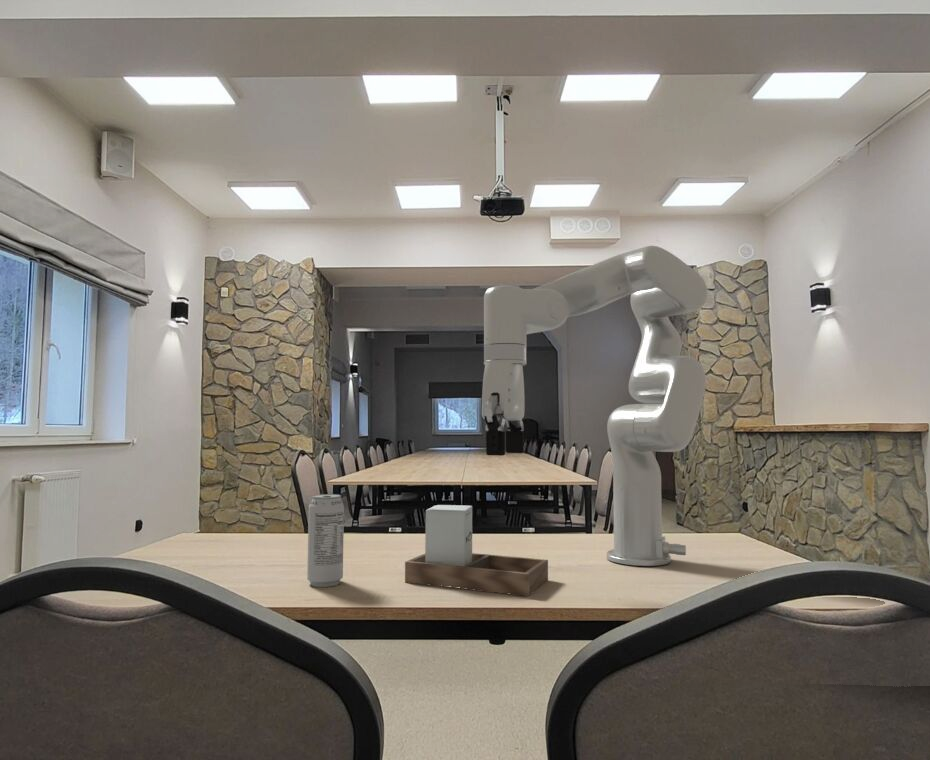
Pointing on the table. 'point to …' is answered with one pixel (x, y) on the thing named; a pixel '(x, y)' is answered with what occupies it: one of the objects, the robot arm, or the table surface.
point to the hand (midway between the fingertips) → (505, 454)
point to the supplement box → (449, 535)
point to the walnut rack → (482, 573)
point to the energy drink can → (325, 540)
